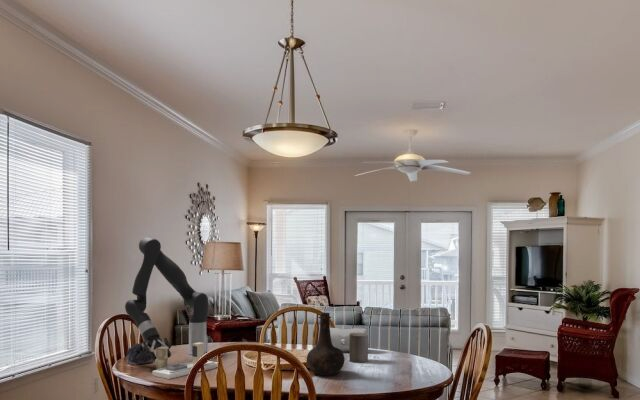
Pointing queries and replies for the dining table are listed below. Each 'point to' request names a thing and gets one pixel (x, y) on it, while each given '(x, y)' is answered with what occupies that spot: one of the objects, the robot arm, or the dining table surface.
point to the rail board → (185, 364)
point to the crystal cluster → (137, 355)
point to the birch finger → (161, 357)
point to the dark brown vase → (325, 351)
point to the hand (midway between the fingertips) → (162, 358)
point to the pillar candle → (358, 347)
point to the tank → (343, 337)
